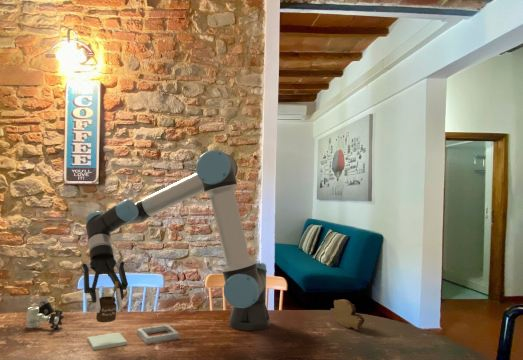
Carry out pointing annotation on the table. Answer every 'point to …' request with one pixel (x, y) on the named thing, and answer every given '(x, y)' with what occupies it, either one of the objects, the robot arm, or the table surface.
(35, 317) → the valve
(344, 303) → the wooden carving
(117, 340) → the green tile
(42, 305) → the lighter
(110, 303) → the utensil holder
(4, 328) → the table surface
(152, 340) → the grey square frame
